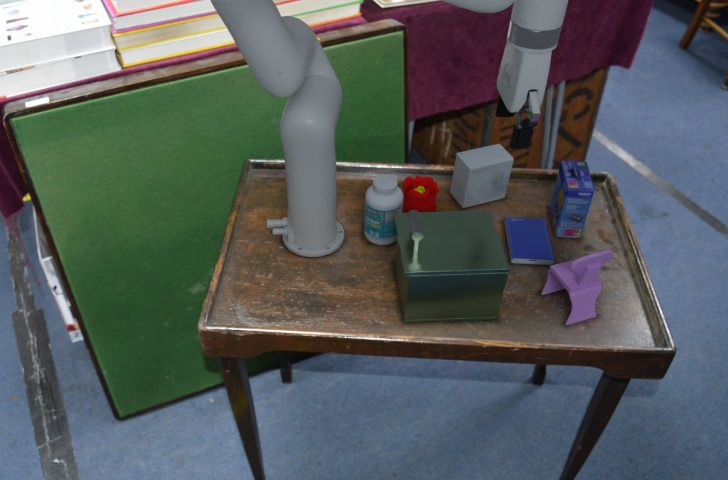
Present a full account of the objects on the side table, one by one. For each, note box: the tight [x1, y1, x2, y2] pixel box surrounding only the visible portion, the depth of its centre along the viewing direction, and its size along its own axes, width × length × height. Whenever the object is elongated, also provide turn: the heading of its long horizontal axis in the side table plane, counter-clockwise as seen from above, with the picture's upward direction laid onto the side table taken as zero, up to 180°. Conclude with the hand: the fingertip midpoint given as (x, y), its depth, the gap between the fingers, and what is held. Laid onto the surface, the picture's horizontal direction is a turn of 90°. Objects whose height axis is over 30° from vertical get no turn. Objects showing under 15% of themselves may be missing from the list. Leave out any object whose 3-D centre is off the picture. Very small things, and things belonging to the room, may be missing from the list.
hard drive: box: [504, 216, 556, 266], centre depth 132 cm, size 2×8×12 cm
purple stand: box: [540, 249, 615, 326], centre depth 115 cm, size 8×9×15 cm
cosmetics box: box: [449, 143, 515, 209], centre depth 140 cm, size 10×6×10 cm, turn 110°
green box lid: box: [394, 209, 510, 276], centre depth 113 cm, size 17×16×5 cm
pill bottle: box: [363, 173, 403, 246], centre depth 130 cm, size 8×7×14 cm
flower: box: [400, 174, 440, 213], centre depth 137 cm, size 8×8×8 cm
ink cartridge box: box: [548, 158, 596, 239], centre depth 132 cm, size 10×6×14 cm, turn 174°
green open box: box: [394, 235, 509, 324], centre depth 119 cm, size 17×16×12 cm
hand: (511, 131), depth 111 cm, fingers open, 9 cm apart
